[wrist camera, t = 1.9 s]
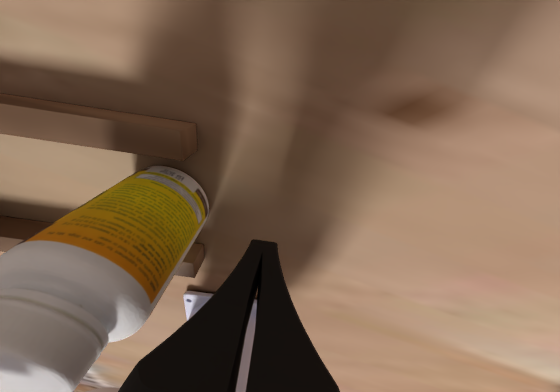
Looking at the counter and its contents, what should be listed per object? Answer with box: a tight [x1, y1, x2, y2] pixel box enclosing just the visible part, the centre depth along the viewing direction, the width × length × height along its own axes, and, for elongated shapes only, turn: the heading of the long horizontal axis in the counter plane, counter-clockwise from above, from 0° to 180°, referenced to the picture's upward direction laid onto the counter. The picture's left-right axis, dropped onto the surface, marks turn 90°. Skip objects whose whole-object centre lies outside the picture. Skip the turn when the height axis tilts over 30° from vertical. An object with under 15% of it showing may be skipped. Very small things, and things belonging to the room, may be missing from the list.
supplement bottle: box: [0, 166, 209, 392], centre depth 11 cm, size 6×6×10 cm
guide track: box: [0, 93, 204, 278], centre depth 13 cm, size 11×19×5 cm, turn 82°
